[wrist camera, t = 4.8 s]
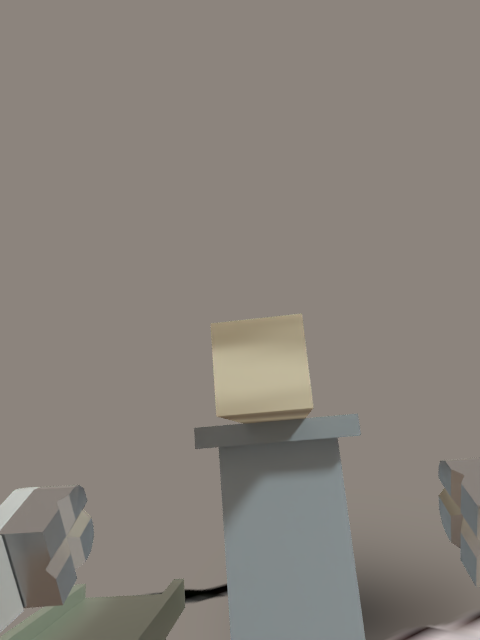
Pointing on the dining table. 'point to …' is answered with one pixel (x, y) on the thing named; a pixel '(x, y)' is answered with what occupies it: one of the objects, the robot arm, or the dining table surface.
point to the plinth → (287, 529)
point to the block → (261, 369)
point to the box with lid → (105, 617)
